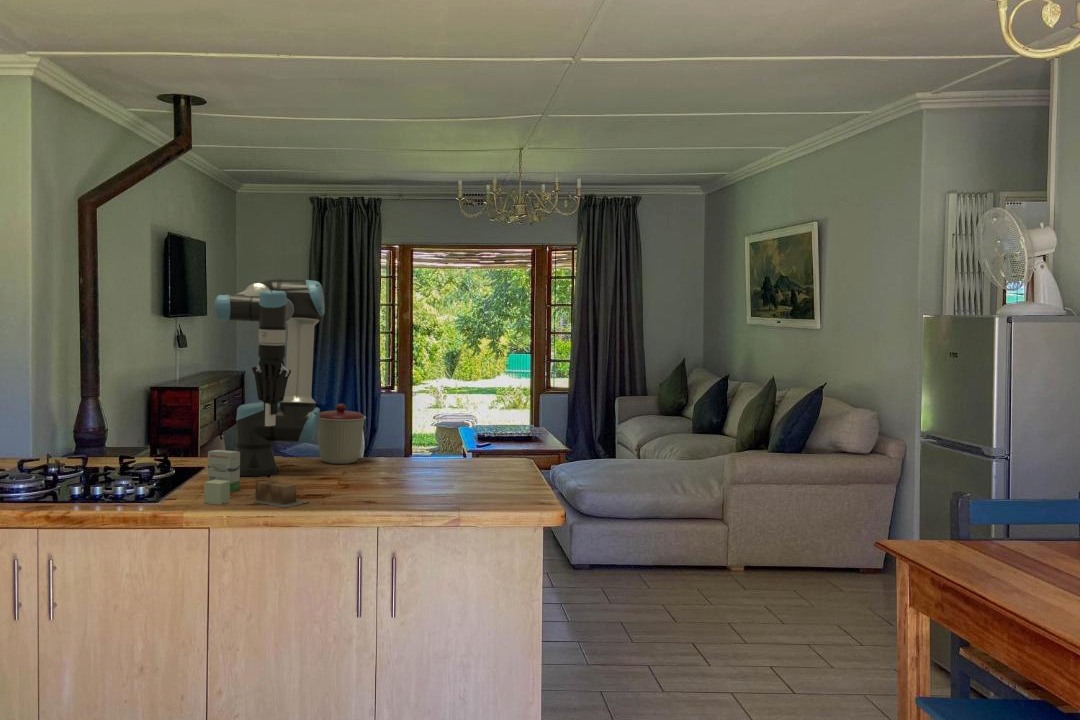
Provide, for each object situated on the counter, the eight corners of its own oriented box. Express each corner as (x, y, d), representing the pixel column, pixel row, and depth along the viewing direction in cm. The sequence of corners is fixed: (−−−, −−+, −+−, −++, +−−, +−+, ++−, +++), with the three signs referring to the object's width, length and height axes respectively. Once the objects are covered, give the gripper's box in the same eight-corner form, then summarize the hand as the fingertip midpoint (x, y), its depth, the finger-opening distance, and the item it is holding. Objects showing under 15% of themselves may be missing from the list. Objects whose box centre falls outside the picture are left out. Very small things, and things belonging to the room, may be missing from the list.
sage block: (204, 503, 291) (204, 482, 291) (213, 500, 296) (214, 479, 296) (220, 505, 290) (220, 483, 290) (229, 501, 295) (229, 481, 294)
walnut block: (255, 482, 297) (284, 487, 292) (268, 480, 301) (296, 484, 296) (255, 499, 297) (284, 504, 292) (267, 496, 302) (296, 501, 296)
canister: (339, 468, 356) (341, 407, 355) (302, 461, 366) (304, 402, 365) (375, 462, 371) (377, 404, 370) (338, 456, 381) (340, 399, 380)
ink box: (240, 489, 312) (241, 451, 311) (230, 492, 307) (231, 453, 307) (216, 486, 315) (217, 448, 314) (206, 489, 310) (207, 450, 309)
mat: (253, 502, 294) (253, 501, 294) (277, 497, 303) (277, 496, 303) (284, 508, 289) (284, 507, 289) (308, 502, 297) (308, 501, 297)
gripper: (245, 343, 295) (243, 424, 297) (279, 346, 289) (277, 429, 291) (264, 342, 302) (262, 422, 303) (298, 345, 296) (296, 426, 297)
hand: (270, 425), depth 297 cm, fingers closed
